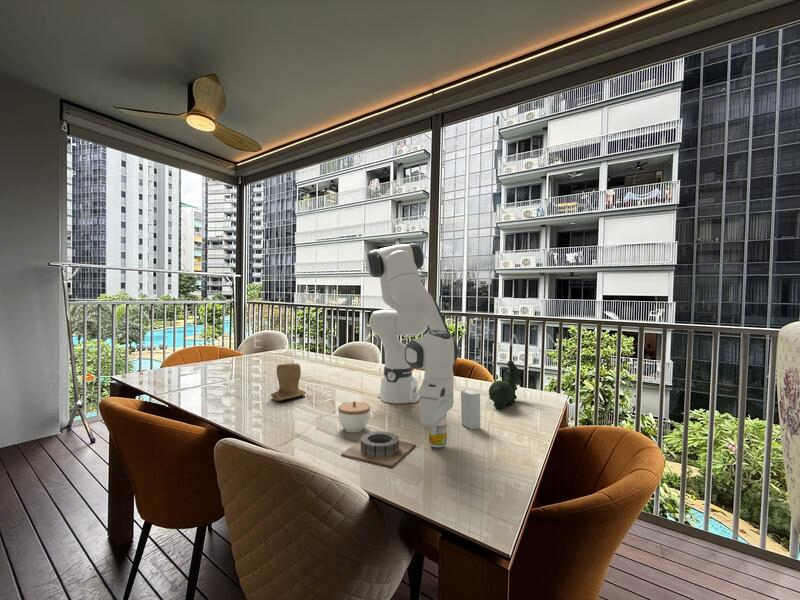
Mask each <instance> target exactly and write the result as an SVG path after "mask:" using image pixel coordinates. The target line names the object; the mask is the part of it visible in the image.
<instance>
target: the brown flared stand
mask: <svg viewBox="0 0 800 600" xmlns="http://www.w3.org/2000/svg"><path fill="white" fill-rule="evenodd" d="M301 372H302V371H301V365H300V364H299V363H280V364H278V365H277V366H276V377H277V382H278V386H279V387H278V390H277V391H275V392H273V393H271V394H270V396H271V398H272V399H273V401H275V402H279V401H285V400H286V401H287V400H289V399H293V398H296V397H300V396H304V395H306V393H307V392H306V391H305V390H302V389H300V388H299V383H300V380H301V374H302V373H301Z"/></svg>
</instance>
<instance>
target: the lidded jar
mask: <svg viewBox="0 0 800 600" xmlns="http://www.w3.org/2000/svg"><path fill="white" fill-rule="evenodd" d="M337 409H338V420H339V424H340V426H341V427H342V428H343V429H344V431H345V432H347V433H352V432H353V433H359V432H362V431H363V430H364V428H366V426H367V425H368V424H369V420H370V416H371V415H370V413H371V405H370V404H368V403H365V402H360V401H354V400H353V401H349V402H344V403H341V404H339V405H338V407H337Z"/></svg>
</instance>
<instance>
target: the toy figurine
mask: <svg viewBox="0 0 800 600" xmlns="http://www.w3.org/2000/svg"><path fill="white" fill-rule="evenodd" d="M506 363H507V367H508V371H507V378H506V381H504V380H497V381H494V382H493V383H492V384H491V385H490V386H489V388H488V396H489V400H491V401H492V402H493V407H494V408H495V409H497V410H503V409H504V408H505V405H506V404H507V406H512V405H515V403H516V400H517V397H518V396H517V394H516V391H518V387H517V383H519V380H518V379H517V377H518V376H519V372H517V371H518V367H517V366H516V365H515V362H514V361H513V360H508V361H507V362H506Z"/></svg>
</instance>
